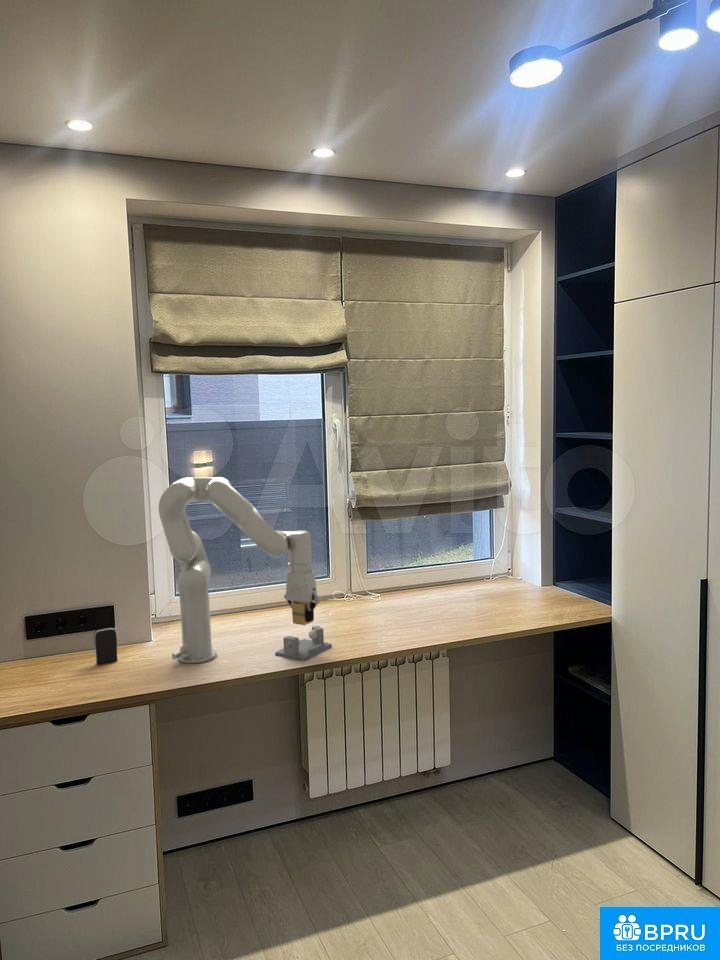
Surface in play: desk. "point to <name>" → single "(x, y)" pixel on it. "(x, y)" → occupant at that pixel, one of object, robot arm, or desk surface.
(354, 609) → the desk surface
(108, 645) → the battery charger
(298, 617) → the yellow rectangular block
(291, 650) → the grey mounting bracket
